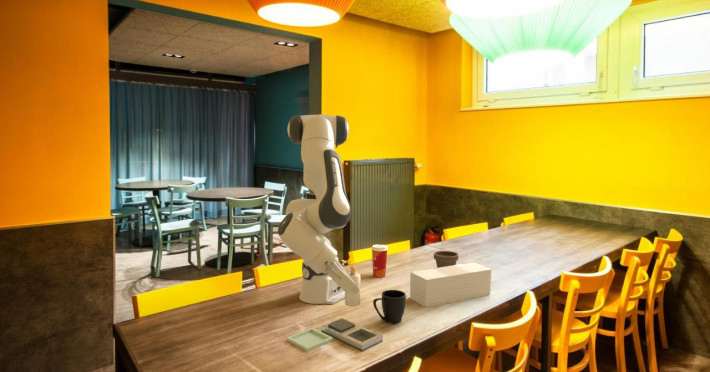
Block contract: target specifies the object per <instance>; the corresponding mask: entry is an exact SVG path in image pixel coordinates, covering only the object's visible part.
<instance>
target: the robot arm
mask: <svg viewBox="0 0 710 372" xmlns="http://www.w3.org/2000/svg"><path fill="white" fill-rule="evenodd" d="M349 126H350V125H349V123H348V120H347V118H346V117H344V116H341V115H331V114H321V113H320V114H319V113H318V114H306V115H305V114H304V115H301V114H298V115H293V116H292V117H290V119H289V122H288V124H287V129H286V130H287V134H288V137H289V141H291V142H292V143H293V144H296V145H301V146H300V156H301V161H302V163H303V178H302V179H303V183H304V185H305V187H306V188H308V189H309V190H311V191H312V192H313V193H314V195H315V198H314V199H313V198H311V199H310V198H299V199H293V200H291V201H290V202H288V204H287V207H286V209H285V216H284V218H283V219H282V220H281V221H280V223H279V224H278V228H277V235H278V237H279V238H280V240H281V241H282V242H283V244H284V245H285V246H287V248H288V249H289V250H291V251H292V252H293V253H294V254H295V255H297V256H299V257H300V258H301V259H302V264H301V273H302V281H301V289H300V292H299V296H298V299H299V300H300V302H301V301H302V302H303V303H307V304H315V305H319V304H320V305H321V304H328V305H334V304H336V303H339V302H340V301H342V300H343V299H344V300H345V292H349V291H350V290H351V291H353V292H354V293H355V294H357V293H358V292H359V288H358V287H357V286H356V285H355V282H354V281H353V279H352V278H351V277H350V276H349V274H348V273H349V272H347V270H346V269H345V268H344V267H343V265H342V264H341V263H340V262H339V257H338V250H337V249H336V248H335V247H334V246H332V245H333V244H332V243H331V241H330V239H328V238H327V237H326V236H324V235H325V234H326V233H328V232H330V231H333V230H335V229H336V230H337V229H342V228H344V227H345V226H347V224H348V223H349V222H350V219H351V217H352V207H351V203H350V201H349V198H348V194H347V190H346V184H345V177H344V169H343V164H342V160H341V157H340V155H339V154H338V152H336V149H337V148H338V147H339V146H341V145H343V144H344V143H345V142H346V141H347V139H348V137H349V135H350V127H349ZM335 148H336V149H335Z"/></svg>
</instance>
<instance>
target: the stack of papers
mask: <svg viewBox="0 0 710 372" xmlns="http://www.w3.org/2000/svg"><path fill="white" fill-rule="evenodd" d="M409 274H410V278H409V279H410V280H409V299H410V300H411V299H412V300H413V301H415V302H416V303H417V304H420V305H421V306H423V307H425V308H428V307H433V306H439V305H443V304H449V303H453V302H460V301H464V300H467V299H468V298H469V299H474V298H478V296H479V297H483V295H484V296H488V295H487V294H489V295H491V288H492V268H489V267H487V266H484V265H482V264H480V263H479V264H478V263H476V262H468V263H467V262H466V263H461V264H456V265H453V266H446V267H440V268H437V267H434V268H427V269H422V270H414V271H410V273H409ZM473 297H474V298H473ZM469 299H468V300H469Z"/></svg>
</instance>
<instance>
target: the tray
mask: <svg viewBox="0 0 710 372" xmlns="http://www.w3.org/2000/svg"><path fill="white" fill-rule="evenodd" d="M286 341H287V342H289V343H290V344H292V345H294V346H295V347H298V348H300V349H302V350H304V351H305V352H307V353H309V352H311V351H313V350H315V349H317V348H320V347H322V346H324V345H326V344H328V343H331V342H333V341H334V338H333V337H331V336H329V335H327V334H325V333H323V332H322V331H320V330H318V329H316V328H313V327H310V328H308V329H307V328H306V329H305V330H303V331H299V332H297V333H294V334H292V335H290V336H287V337H286Z"/></svg>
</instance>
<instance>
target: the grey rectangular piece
mask: <svg viewBox="0 0 710 372" xmlns="http://www.w3.org/2000/svg"><path fill="white" fill-rule="evenodd" d="M321 332H322V333H324V334H326V335H329V336H331V337H333V339H335V340H338V341H340V342H342V343H344V344H346V345H348V346H350V347H352V348H354V349H357V350H358V351H360V352H365V351H366V350H368V349H371V348H372V347H374V346H376V345H378V344H380V343H383V340H384V339H383V338H384V336H383V335H382V334H381V333H378V332H376V331H373V330H371V329H370V328H369V329H368V328H366V327H364V326H362V325H360V324H357V323H355V322H352V321H350V320H348V319H346V318H343V317H341V318H339V319H336V320H333V321H331V322H328V323H325V324H323V325H321Z"/></svg>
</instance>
